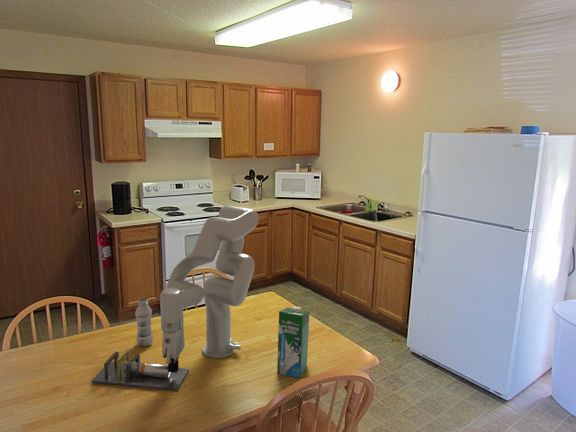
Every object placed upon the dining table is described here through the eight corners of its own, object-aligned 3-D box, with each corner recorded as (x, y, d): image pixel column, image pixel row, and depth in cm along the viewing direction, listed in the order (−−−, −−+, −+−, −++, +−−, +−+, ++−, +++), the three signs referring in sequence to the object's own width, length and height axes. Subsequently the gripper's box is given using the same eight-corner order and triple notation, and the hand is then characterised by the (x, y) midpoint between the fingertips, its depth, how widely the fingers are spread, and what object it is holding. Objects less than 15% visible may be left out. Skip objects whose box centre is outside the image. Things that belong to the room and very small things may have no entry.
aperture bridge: (130, 367, 155) (129, 348, 154) (120, 379, 148) (119, 359, 146) (128, 366, 155) (127, 348, 154) (117, 379, 148) (116, 359, 146)
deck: (189, 371, 156) (188, 368, 155) (177, 391, 144) (177, 388, 144) (109, 364, 158) (109, 361, 158) (91, 383, 147) (91, 380, 146)
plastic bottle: (155, 341, 176) (154, 296, 172) (149, 349, 170) (147, 303, 165) (141, 340, 177) (139, 295, 173) (133, 348, 170) (131, 302, 166)
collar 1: (119, 365, 156) (118, 351, 154) (108, 378, 148) (107, 363, 147) (116, 365, 156) (115, 351, 155) (105, 378, 148) (104, 363, 147)
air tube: (171, 373, 152) (171, 362, 151) (167, 380, 148) (166, 369, 147) (129, 369, 153) (128, 358, 152) (123, 376, 149) (123, 365, 148)
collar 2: (140, 367, 155) (139, 353, 154) (130, 380, 147) (129, 365, 146) (136, 367, 155) (136, 353, 154) (126, 380, 147) (126, 365, 146)
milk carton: (307, 365, 162) (309, 305, 157) (300, 378, 154) (302, 315, 148) (285, 361, 165) (287, 301, 160) (277, 373, 156) (278, 311, 151)
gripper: (175, 334, 138) (176, 384, 142) (189, 314, 152) (190, 360, 156) (153, 333, 138) (155, 382, 142) (169, 313, 153) (170, 359, 157)
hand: (173, 371), depth 149 cm, fingers closed
